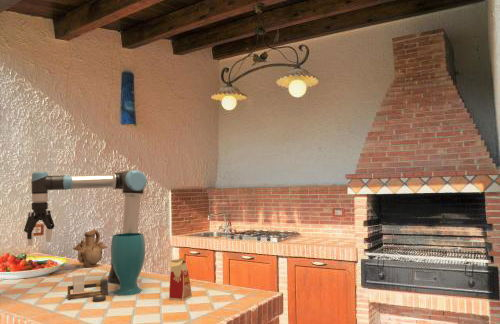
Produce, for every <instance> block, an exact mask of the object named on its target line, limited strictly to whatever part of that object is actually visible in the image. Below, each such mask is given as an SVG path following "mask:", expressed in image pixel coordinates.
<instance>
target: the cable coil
mask: <svg viewBox="0 0 500 324" xmlns="http://www.w3.org/2000/svg"><path fill="white" fill-rule="evenodd" d="M106 300H107V295H95V296H93V297H92V302H95V303H101V302H106Z"/></svg>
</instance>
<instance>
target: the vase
mask: <svg viewBox="0 0 500 324" xmlns="http://www.w3.org/2000/svg"><path fill="white" fill-rule="evenodd" d="M122 233H123V232H122ZM122 233H116V234H113V235H112V237H111V243H110V244H111V245H110V260H112V264H113V268H114V271H115V273H116V275H117V277H118V279H119V281H120V283H119V287H118V288H117V289H116V291H115V292H113V294H114V295H117V296H132V295H137V293H138V294H141V293H142V292H143V291H142V290H143V289H142V288H140V287H139V286H138V284H137V281H138V279H139V276H140V274H141V271H142V269H143V267H144V264H145V260H146V259H145V258H146V241H145V235H144V233H140V232H138V233H123V234H122ZM141 291H142V292H141ZM140 292H141V293H140Z"/></svg>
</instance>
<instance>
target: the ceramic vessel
mask: <svg viewBox="0 0 500 324" xmlns="http://www.w3.org/2000/svg"><path fill="white" fill-rule="evenodd" d="M100 237H101V234H100V232H99V231H98V230H97V229H94V228H93V229H90V230H89V231H86V232H84V237H83V239H82V240H81V241H80V242H79V243H77V245H76V246H74V247H72V249H73V250H75V251H76V252H77V260H78V262H79V263H80V264H83V265H82V267H83V268H96V267H97V266H98V265H97V264H98V263H99V262H101V260H102V257H103V250H104V249H106V248H108V246H107V245H105V244H104V243H103V241H100Z"/></svg>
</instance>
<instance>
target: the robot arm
mask: <svg viewBox="0 0 500 324" xmlns="http://www.w3.org/2000/svg"><path fill="white" fill-rule="evenodd" d="M147 180H148V179H147V176H146V175H145V174H144V172H143V171H141V170H138V169H137V170H136V169H132V170H125V171H120V172H112V173H111V174H81V175H80V174H79V175H76V174H75V175H67V174H65V175H64V174H63V175H62V174H61V175H49V174H48V172H47V171H34V172H32V173H31V210H32V212H30V211H29V212H28V214H27V215H28V216H27V219H26V223H25V226H24V228H23V232H25V233H27V234H26V235H27V237H26V239H27V246H29V247H33V246H35V245H34V243H35V242H34V240H35V239H34V236H35V235H34V232H33V231H34V229H35V227H36V225H37V223H38V222H39V221H42V223H43V224H44V225H45V226H44V227H46V229H45V242H46V243H47V242H51V243H52V234H53V232H52V231H53V230H54V229H55V223H54V220H53V216H52V213H51V210H48V208H49V207H48V206H49V202H48V201H49V193H48V192H49V191H58V190H59V191H60V190H61V191H62V190H63V191H68V190H76V189H78V190H81V189H102V188H103V189H105V188H107V189H108V188H111V189H112V190H122V194H123V196H124V204H123V205H124V206H123V218H122V233H121V234H123V233H139V225H140V207H141V197H142V196H143V195H144V189H145V187H146V186H147V182H148V181H147ZM110 260H111V259H110ZM110 265H111V267H110V270H109V274H108V276H107V277H108V278H107V280H108V283H111V284H120V281H119V279H118V277H117V275H116V273H115V271H114V268H113V264H112V260H111V261H110Z"/></svg>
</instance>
